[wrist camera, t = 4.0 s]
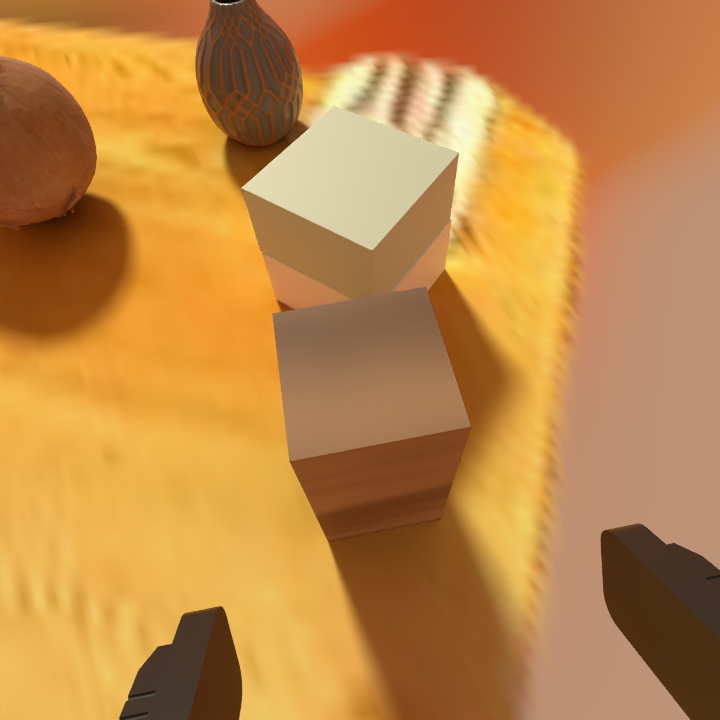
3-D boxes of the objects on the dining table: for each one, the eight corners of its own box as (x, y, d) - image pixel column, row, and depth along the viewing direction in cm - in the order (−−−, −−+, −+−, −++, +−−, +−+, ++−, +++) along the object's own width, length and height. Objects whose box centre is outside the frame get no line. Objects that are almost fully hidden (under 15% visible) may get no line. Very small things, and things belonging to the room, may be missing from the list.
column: (440, 518, 23) (471, 426, 14) (328, 541, 22) (289, 461, 14) (413, 416, 25) (425, 286, 17) (312, 436, 25) (272, 313, 16)
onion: (151, 177, 35) (75, 20, 27) (64, 277, 31) (-60, 127, 22) (42, 150, 38) (-60, -4, 29) (-53, 239, 33) (-207, 90, 25)
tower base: (379, 357, 27) (377, 312, 24) (276, 301, 29) (262, 253, 26) (444, 271, 30) (451, 220, 27) (346, 226, 32) (341, 173, 29)
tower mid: (374, 310, 24) (372, 250, 20) (260, 251, 26) (241, 187, 23) (449, 219, 27) (458, 152, 23) (340, 172, 29) (334, 106, 26)
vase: (306, 158, 36) (284, 21, 28) (208, 162, 36) (160, 28, 28) (310, 99, 39) (292, -36, 32) (221, 103, 39) (182, -29, 32)
